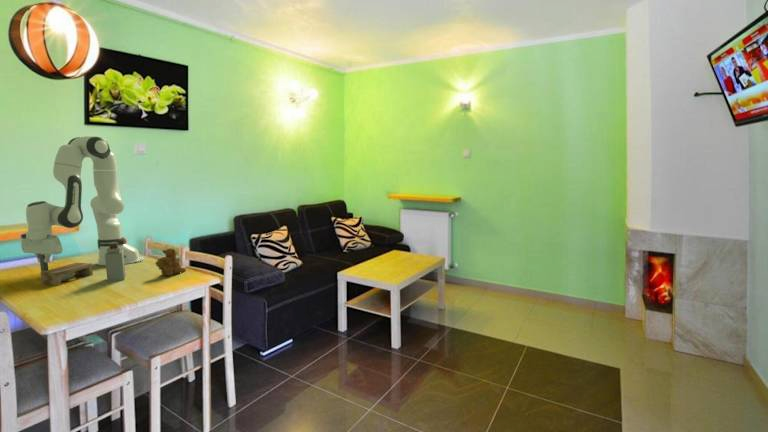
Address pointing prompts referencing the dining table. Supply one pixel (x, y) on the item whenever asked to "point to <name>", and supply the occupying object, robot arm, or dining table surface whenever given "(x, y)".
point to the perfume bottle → (115, 263)
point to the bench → (54, 274)
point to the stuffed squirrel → (169, 263)
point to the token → (70, 278)
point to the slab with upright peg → (45, 267)
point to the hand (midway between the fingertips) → (43, 262)
